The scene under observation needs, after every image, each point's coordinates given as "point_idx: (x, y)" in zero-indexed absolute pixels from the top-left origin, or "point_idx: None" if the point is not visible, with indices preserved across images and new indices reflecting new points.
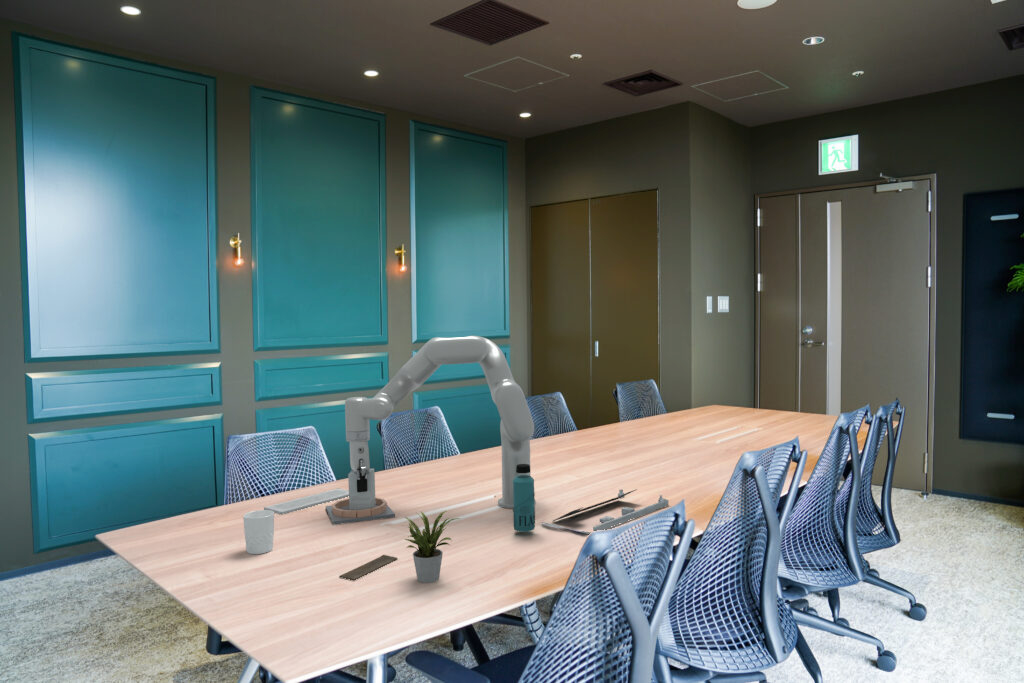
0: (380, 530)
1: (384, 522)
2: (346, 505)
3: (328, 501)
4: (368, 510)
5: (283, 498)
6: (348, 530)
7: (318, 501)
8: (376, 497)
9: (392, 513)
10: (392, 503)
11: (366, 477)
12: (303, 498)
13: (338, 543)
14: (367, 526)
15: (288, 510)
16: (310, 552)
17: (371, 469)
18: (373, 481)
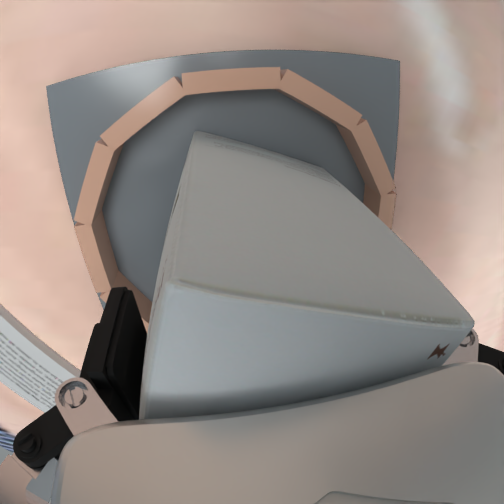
0: (498, 171)
1: (439, 131)
2: (132, 285)
3: (28, 333)
4: (393, 203)
5: (11, 411)
6: (445, 267)
7: (51, 366)
8: (110, 127)
9: (387, 68)
10: (91, 28)
11: (474, 335)
12: (24, 391)
13: (501, 287)
14: (447, 205)
15: None
16: (497, 330)
17: (262, 337)
18: (313, 219)
